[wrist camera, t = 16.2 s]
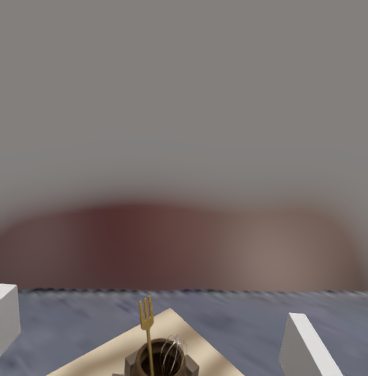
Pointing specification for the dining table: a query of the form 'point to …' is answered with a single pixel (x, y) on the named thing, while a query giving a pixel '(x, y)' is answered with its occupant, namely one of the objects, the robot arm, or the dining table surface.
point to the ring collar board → (135, 338)
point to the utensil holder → (158, 351)
